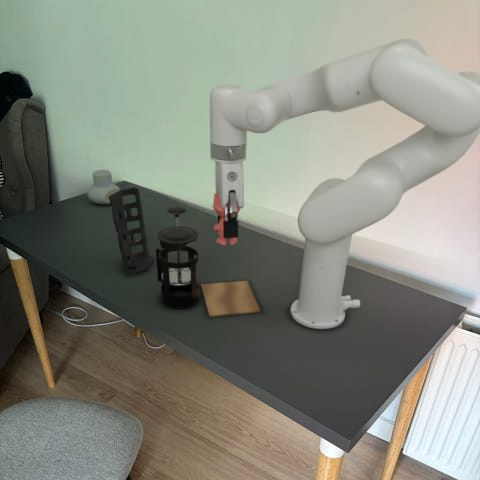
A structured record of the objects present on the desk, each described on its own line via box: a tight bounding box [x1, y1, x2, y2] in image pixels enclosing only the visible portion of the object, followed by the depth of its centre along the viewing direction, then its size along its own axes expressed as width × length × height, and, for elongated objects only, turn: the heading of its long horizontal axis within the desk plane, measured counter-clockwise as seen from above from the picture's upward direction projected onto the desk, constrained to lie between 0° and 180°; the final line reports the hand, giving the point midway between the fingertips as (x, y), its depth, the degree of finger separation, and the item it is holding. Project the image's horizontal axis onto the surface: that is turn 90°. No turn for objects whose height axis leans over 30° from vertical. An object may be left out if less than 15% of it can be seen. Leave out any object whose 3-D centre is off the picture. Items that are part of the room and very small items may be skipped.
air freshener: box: [86, 169, 121, 206], centre depth 169 cm, size 11×8×10 cm
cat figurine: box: [211, 192, 241, 246], centre depth 114 cm, size 7×7×12 cm
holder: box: [109, 187, 153, 276], centre depth 130 cm, size 11×8×20 cm
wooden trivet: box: [200, 280, 261, 317], centre depth 123 cm, size 12×14×1 cm
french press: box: [155, 205, 201, 310], centre depth 116 cm, size 12×9×23 cm
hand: (227, 229), depth 116 cm, fingers closed on cat figurine, 6 cm apart
